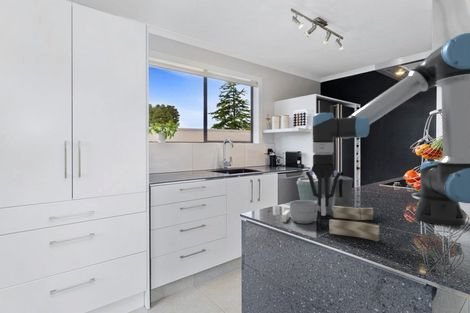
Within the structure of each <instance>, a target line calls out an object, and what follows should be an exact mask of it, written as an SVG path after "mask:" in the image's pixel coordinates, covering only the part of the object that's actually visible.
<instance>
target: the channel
mask: <svg viewBox="0 0 470 313" xmlns="http://www.w3.org/2000/svg"><path fill="white" fill-rule="evenodd" d="M332 218H337V219H331V218H330V219H329V222H328V223H329V224H328V228H329V229H328V230H329V234H330V235H339V236H347V237H354V238H355V237H356V238H361V239H366V240H371V241H375V242H379V240H380V225H376V224H372V223H367V222H362V221H367V220H368V221H370V220H371V221H372V220H374V208H372V207H354V206H352V207H341V206H333V211H332ZM340 219H342V220H340ZM343 219H345V220H343ZM346 219H347V220H346ZM351 220H354V221H351ZM355 220H356V221H355ZM358 220H359V221H358Z"/></svg>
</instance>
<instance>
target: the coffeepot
mask: <svg viewBox="0 0 470 313" xmlns="http://www.w3.org/2000/svg"><path fill="white" fill-rule="evenodd" d="M340 172H341V175H340V177H339V178H338V181H337V185H336V188H335V192H334V196H333V197H332V203H331V208H330V209H331V211H332V212H333V206H341V207H353V203H352V202H353V201H352V197H351V194H352V188H353V183H354V178H353V177H349V176H345V175H344V173H345V172H344V171H340ZM334 178H335V176H334V177H332V176H331V177H330V179H331V187H332V186H333V182H334Z"/></svg>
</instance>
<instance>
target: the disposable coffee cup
mask: <svg viewBox="0 0 470 313" xmlns="http://www.w3.org/2000/svg"><path fill="white" fill-rule="evenodd" d="M313 180H314V184H315V187H316V191H317V193H318V178H317V177H313ZM296 185H297V190H298V195H299V200H311V201H318V197H316V196H313V192H312V189H311V185H310V181H309V178H308V176H307V177H306V176H304V177H298V178H297V181H296Z"/></svg>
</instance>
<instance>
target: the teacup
mask: <svg viewBox="0 0 470 313" xmlns="http://www.w3.org/2000/svg"><path fill="white" fill-rule="evenodd" d="M289 208H290V209H289V210H290V218H291V219H293V220H294V221H295V222H296V223H297V224H304V225H305V224H311V223H313V222H314V221H315V220H316V219H317V218H318V211H320V209H321V206H318V201H311V200H300V199H297V200H292V201H290V202H289Z"/></svg>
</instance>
